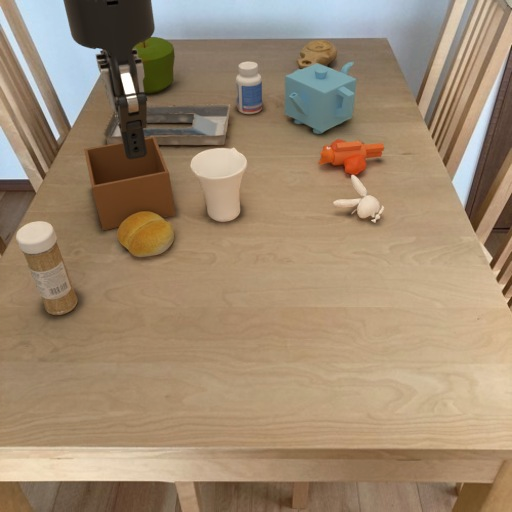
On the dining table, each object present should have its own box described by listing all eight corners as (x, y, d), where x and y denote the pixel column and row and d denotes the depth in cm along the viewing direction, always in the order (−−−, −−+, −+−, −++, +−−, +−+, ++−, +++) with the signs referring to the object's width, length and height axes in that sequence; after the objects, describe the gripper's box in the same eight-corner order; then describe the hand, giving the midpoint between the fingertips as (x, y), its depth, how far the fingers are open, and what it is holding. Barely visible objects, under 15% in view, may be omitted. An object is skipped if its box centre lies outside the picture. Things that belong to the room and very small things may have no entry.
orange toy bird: (381, 129, 101) (317, 135, 100) (392, 161, 98) (325, 168, 96) (375, 147, 106) (313, 154, 104) (385, 178, 102) (322, 185, 101)
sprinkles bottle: (76, 289, 80) (51, 216, 71) (80, 311, 77) (54, 237, 68) (43, 298, 79) (14, 224, 70) (46, 320, 76) (15, 246, 67)
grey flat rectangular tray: (227, 148, 109) (226, 135, 107) (101, 148, 109) (98, 135, 107) (231, 115, 118) (230, 103, 116) (116, 116, 119) (113, 103, 117)
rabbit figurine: (370, 231, 89) (331, 200, 89) (365, 234, 93) (328, 204, 93) (393, 202, 89) (354, 171, 89) (387, 206, 93) (349, 177, 93)
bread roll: (142, 266, 83) (138, 246, 81) (111, 239, 88) (106, 219, 86) (186, 242, 87) (184, 222, 85) (154, 217, 92) (150, 197, 90)
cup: (260, 205, 94) (259, 154, 88) (227, 235, 89) (223, 183, 82) (218, 189, 98) (214, 139, 91) (184, 216, 92) (178, 165, 86)
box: (175, 215, 93) (168, 172, 87) (103, 230, 90) (91, 187, 84) (161, 177, 101) (154, 136, 96) (94, 190, 99) (84, 148, 93)
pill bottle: (267, 108, 120) (267, 64, 114) (250, 117, 118) (249, 73, 111) (249, 100, 123) (248, 57, 117) (232, 109, 120) (229, 65, 114)
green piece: (183, 77, 133) (178, 29, 126) (170, 100, 124) (163, 50, 117) (133, 75, 135) (125, 27, 127) (116, 97, 126) (107, 48, 118)
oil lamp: (297, 81, 130) (298, 60, 127) (291, 57, 141) (292, 37, 138) (342, 79, 131) (344, 58, 127) (333, 55, 141) (334, 35, 138)
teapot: (263, 122, 116) (263, 70, 108) (323, 95, 125) (326, 45, 117) (318, 151, 107) (322, 96, 99) (378, 120, 116) (385, 67, 108)
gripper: (54, -34, 52) (93, 132, 63) (67, 10, 42) (110, 195, 54) (134, -42, 53) (157, 121, 65) (163, -2, 44) (185, 180, 56)
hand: (136, 154), depth 59 cm, fingers closed
